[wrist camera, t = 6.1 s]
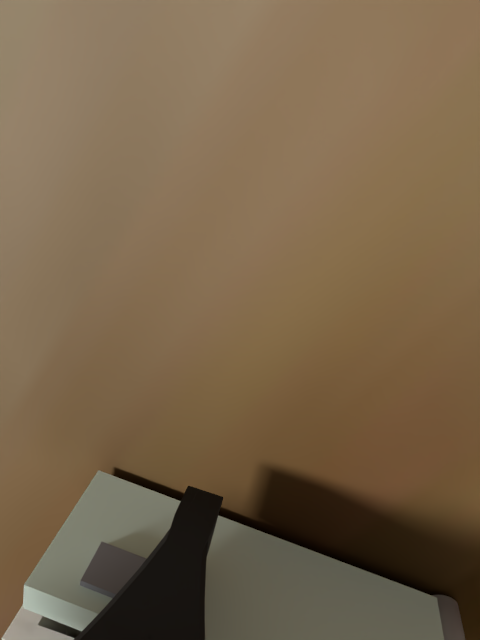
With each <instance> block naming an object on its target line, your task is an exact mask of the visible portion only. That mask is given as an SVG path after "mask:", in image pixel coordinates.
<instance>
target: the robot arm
mask: <svg viewBox="0 0 480 640" xmlns="http://www.w3.org/2000/svg"><path fill="white" fill-rule="evenodd" d="M222 500H223V497H221V496H218V495H215V494H212V493H209V492H206V491H203V490H200V489H197V488H194V487H191V486H188V487H187V489H186V492H185V494H184V496H183V498H182V500H181V502H180V504H179V506H178V508H177V510H176V513H175V515H174V518H173V521H172V524H171V528H170V529H169V530H168V532H167V533H166V535H165V536H164V537H163V539H162V540H161V541H160V543H159V544H158V545H157V546H156V548H155V549H154V550H153V551H152V553H151V554H150V555H149V556H148V558H147V559H146V560H145V562H144V563H143V564H142V565H141V567H140V568H139V569H138V570H137V571H136V573H135V574H134V575H133V576H132V577H131V578H130V579H129V581H128V582H127V583H126V584H125V585H124V586H123V587H122V589H121V590H120V591H119V592H118V593H117V594H116V595H115V596H114V598H113V599H112V600H111V601H110V602H109V603H108V604H107V605H106V607H105V608H104V609H103V610H102V611H101V612H100V613H99V614H98V615H97V616H96V617H95V618H94V619H93V620H92V621H91V622H90V623H89V624H88V625H87V627H86V628H85V629H84V630H83V631H82V632H81V633H80V634H79V635H78V636H77V637H76V638H75V639H74V640H205V581H206V560H207V554H208V551H209V548H210V544H211V540H212V537H213V533H214V529H215V526H216V522H217V518H218V515H219V511H220V507H221V504H222Z"/></svg>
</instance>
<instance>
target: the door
mask: <svg viewBox="0 0 480 640" xmlns="http://www.w3.org/2000/svg"><path fill="white" fill-rule="evenodd" d="M180 502H181V501H179V500H176V499H174V498H171V497H168V496H166V495H163V494H160V493H158V492H155V491H152V490H150V489H147V488H144V487H142V486H139V485H136V484H134V483H131V482H128V481H126V480H123V479H120V478H118V477H115V476H112V475H110V474H107V473H104V472H102V471H99V470H98V472H97V474H96V475H95V477H94V478H93V480H92V481H91V483H90V484H89V486H88V487H87V489H86V490H85V492H84V494H83V495H82V497H81V498H80V500H79V501H78V503H77V504H76V506H75V507H74V509H73V510H72V512H71V513H70V515H69V517H68V518H67V520H66V521H65V523H64V524H63V526H62V527H61V529H60V530H59V532H58V533H57V535H56V537H55V538H54V540H53V541H52V543H51V544H50V546H49V547H48V549H47V550H46V552H45V553H44V555H43V556H42V558H41V560H40V561H39V563H38V564H37V566H36V567H35V569H34V570H33V572H32V573H31V575H30V576H29V578H28V580H27V581H26V583H25V584H24V599H23V608H24V609H27V610H29V611H32V612H34V613H37V614H39V615H42V616H44V617H47V618H49V619H52V620H54V621H57V622H59V623H62V624H64V625H67V626H69V627H72V628H74V629H77V630H79V631H83V630H84V629H85V628H86V627H87V625H88V624H89V623H90V622H91V621H92V620H93V619H94V618H95V617H96V616H97V615H98V614H99V613H100V612H101V611H102V610H103V609H104V608H105V607H106V605H107V604H108V603H109V602H110V601H111V600H112V599H113V598H114V596H115V595H116V594H117V593H118V592H119V591H120V590H121V589H122V587H123V586H124V585H125V584H126V583H127V582H128V581H129V579H130V578H131V577H132V576H133V575H134V574H135V573H136V571H137V570H138V569H139V568H140V567H141V565H142V564H143V563H144V562H145V560H146V559H147V558H148V556H149V555H150V554H151V553H152V551H153V550H154V549H155V548H156V546H157V545H158V544H159V543H160V541H161V540H162V539H163V537H164V536H165V535H166V533H167V532H168V530H169V529H170V528H171V524H172V521H173V518H174V515H175V513H176V510H177V508H178V506H179V504H180ZM205 640H465V635H464V631H463V626H462V621H461V617H460V612H459V607H458V604H457V602H456V601H455V600H454V599H453V598H451V597H448V596H445V595H432V596H431V595H429V594H426V593H423V592H421V591H418V590H415V589H413V588H410V587H407V586H405V585H402V584H399V583H397V582H394V581H392V580H389V579H386V578H384V577H381V576H378V575H376V574H373V573H370V572H368V571H365V570H362V569H360V568H357V567H354V566H352V565H349V564H346V563H344V562H341V561H338V560H336V559H333V558H330V557H328V556H325V555H322V554H320V553H317V552H314V551H312V550H309V549H306V548H304V547H301V546H298V545H296V544H293V543H290V542H288V541H285V540H283V539H280V538H277V537H275V536H272V535H269V534H267V533H264V532H261V531H259V530H256V529H253V528H251V527H248V526H245V525H243V524H240V523H237V522H235V521H232V520H229V519H227V518H224V517H221V516H219V515H218V518H217V522H216V526H215V529H214V533H213V537H212V540H211V544H210V548H209V551H208V554H207V560H206V581H205Z"/></svg>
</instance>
